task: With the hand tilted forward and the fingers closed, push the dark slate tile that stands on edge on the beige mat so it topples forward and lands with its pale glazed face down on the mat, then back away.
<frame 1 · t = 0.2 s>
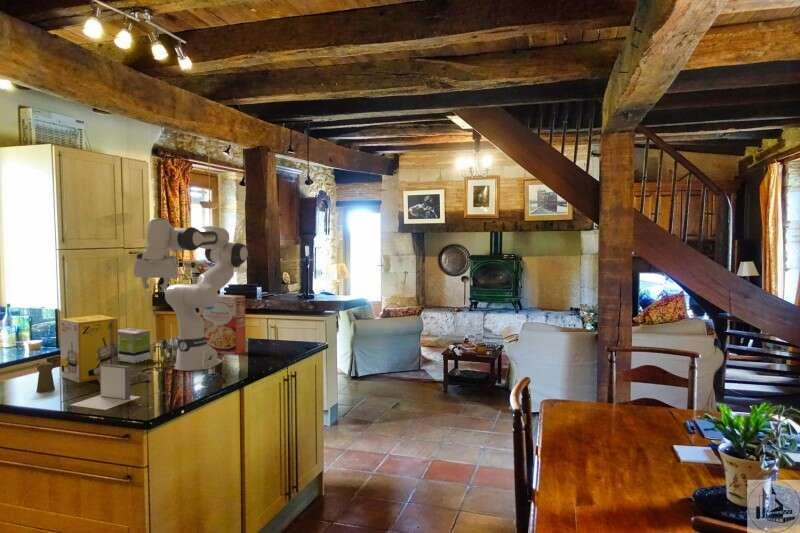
hand: (155, 288, 220), 39 cm above the table, tool pointing down, fingers open, 8 cm apart
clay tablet: (119, 382, 220), on the table
packaging box: (90, 376, 228), on the table
beige mat: (106, 402, 191), on the table
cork: (45, 391, 205), on the table
tea box: (131, 360, 259), on the table
pasta box: (222, 352, 280), on the table
slate tile: (115, 397, 195), point 1 cm above the table, touching beige mat
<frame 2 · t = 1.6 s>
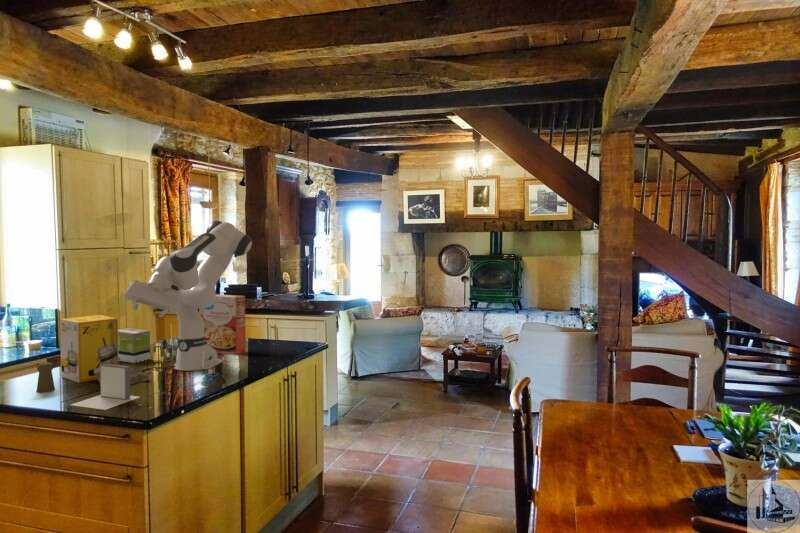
hand: (147, 312, 203), 31 cm above the table, tool tilted 50°, fingers open, 8 cm apart
nothing on the table moved.
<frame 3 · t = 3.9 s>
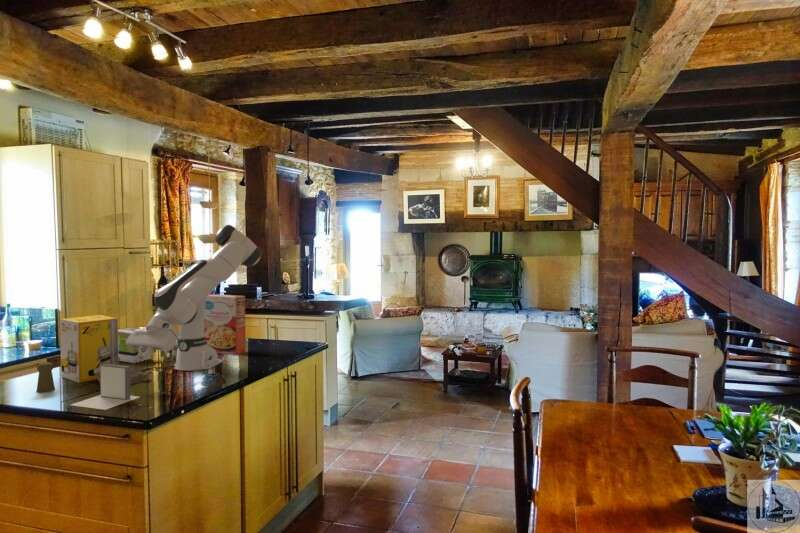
hand: (140, 357, 205), 13 cm above the table, tool tilted 45°, fingers closed
nothing on the table moved.
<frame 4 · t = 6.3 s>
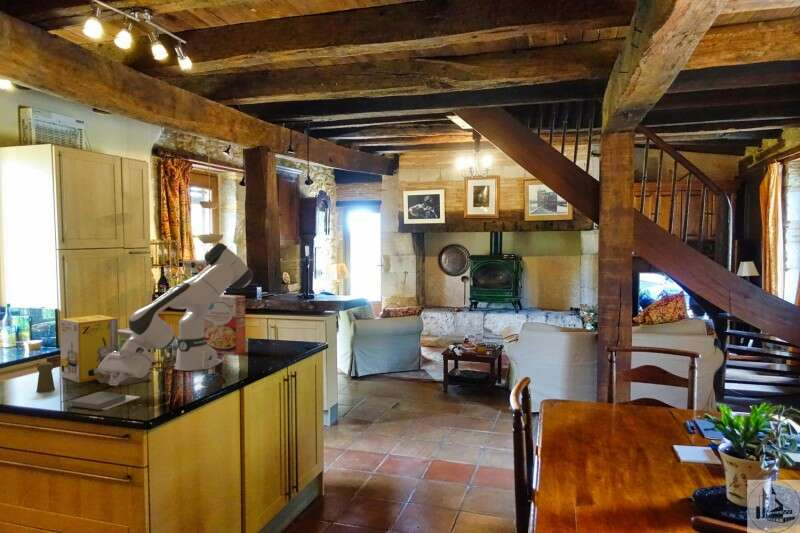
hand: (112, 384, 193), 6 cm above the table, tool tilted 45°, fingers closed
slate tile: (112, 395, 194), point 2 cm above the table, tilted 90°, touching beige mat
everything else where it was.
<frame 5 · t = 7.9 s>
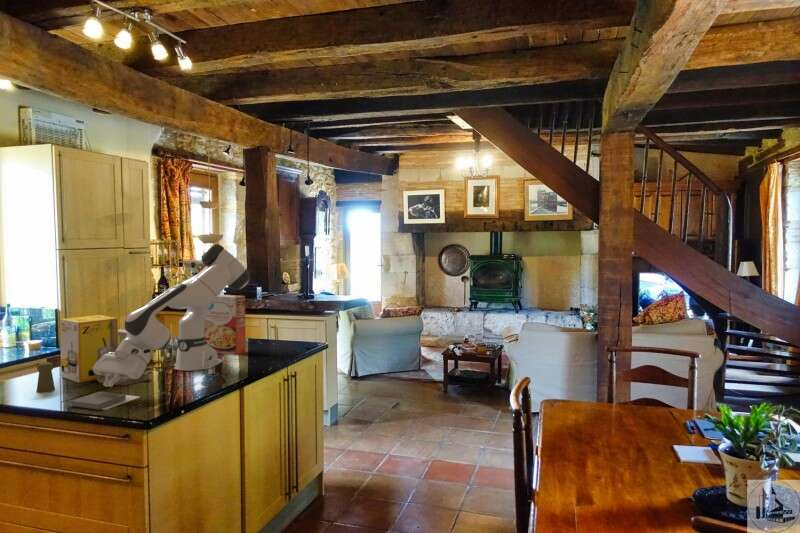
hand: (107, 385, 192), 6 cm above the table, tool tilted 45°, fingers closed
nothing on the table moved.
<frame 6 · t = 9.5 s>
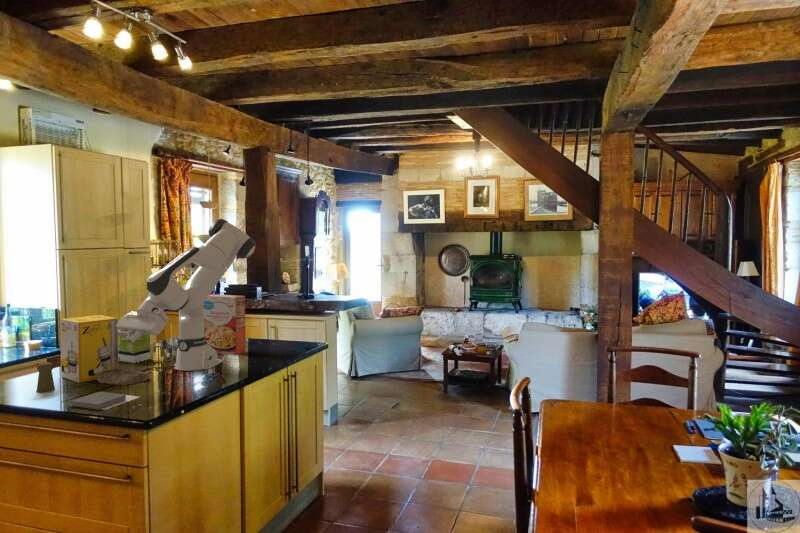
hand: (129, 340, 206), 20 cm above the table, tool tilted 45°, fingers closed
nothing on the table moved.
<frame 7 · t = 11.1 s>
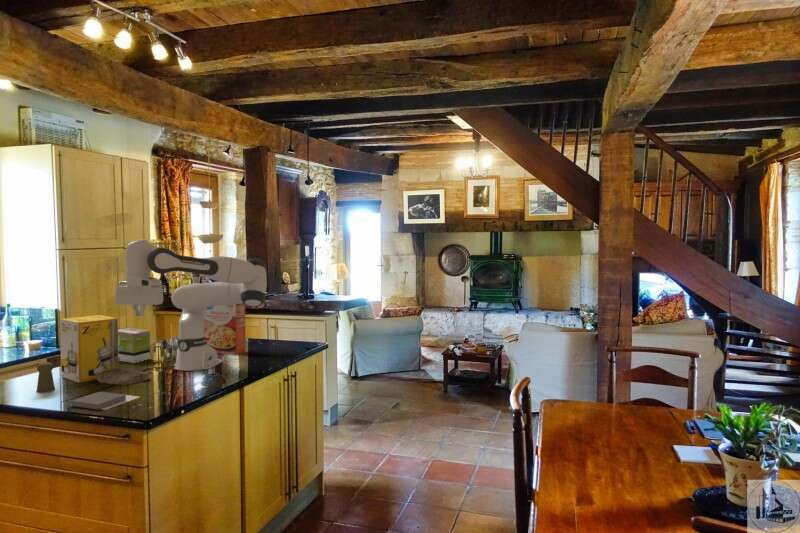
hand: (139, 315, 210), 29 cm above the table, tool pointing down, fingers closed
nothing on the table moved.
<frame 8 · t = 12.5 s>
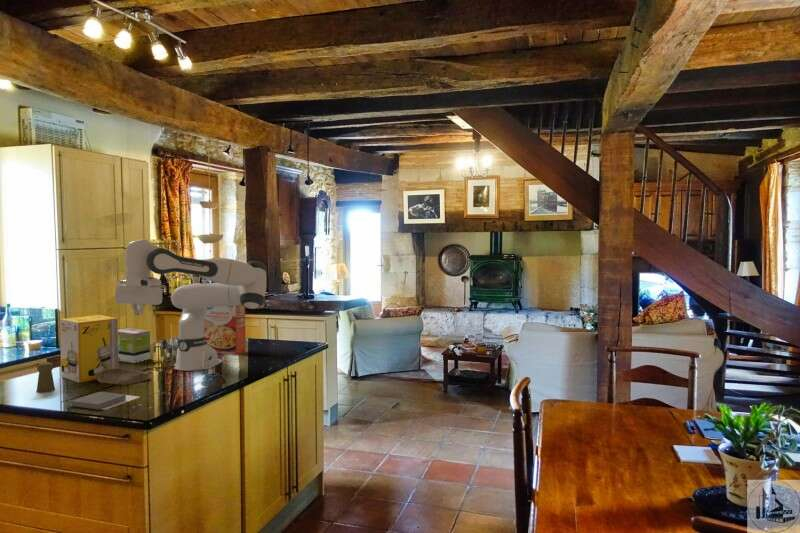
hand: (138, 315, 210), 29 cm above the table, tool pointing down, fingers closed
at the end: slate tile tilted 90°; slate tile inside the target area (3.9 cm from its centre), point 1.6 cm above the table; the gripper is holding nothing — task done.
